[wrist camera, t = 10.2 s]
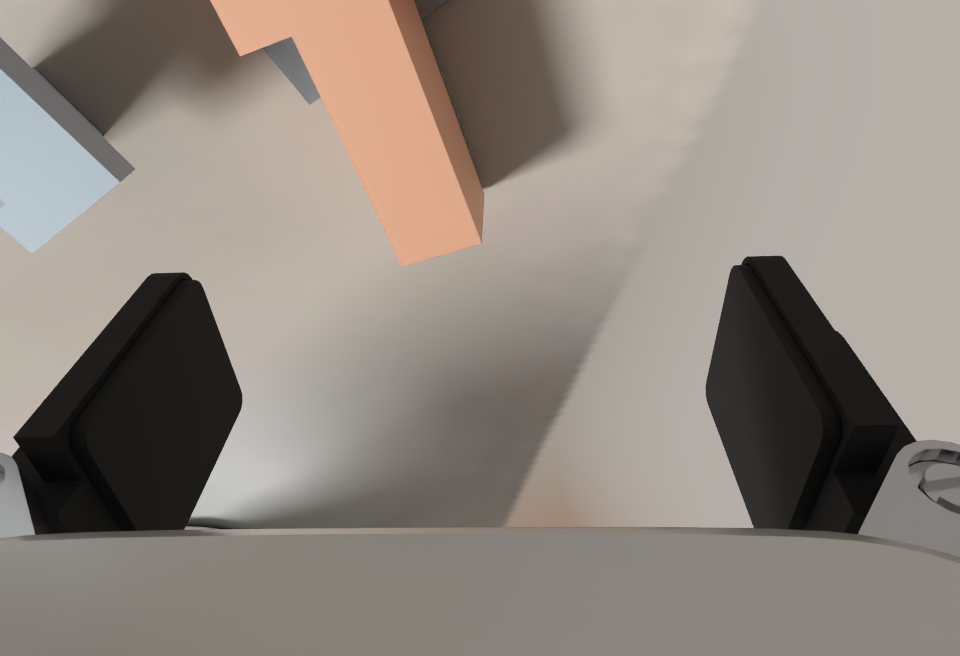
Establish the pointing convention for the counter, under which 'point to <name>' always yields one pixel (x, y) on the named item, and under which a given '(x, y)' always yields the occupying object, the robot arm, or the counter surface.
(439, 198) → the link
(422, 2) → the pintle station
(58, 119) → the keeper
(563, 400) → the counter surface
